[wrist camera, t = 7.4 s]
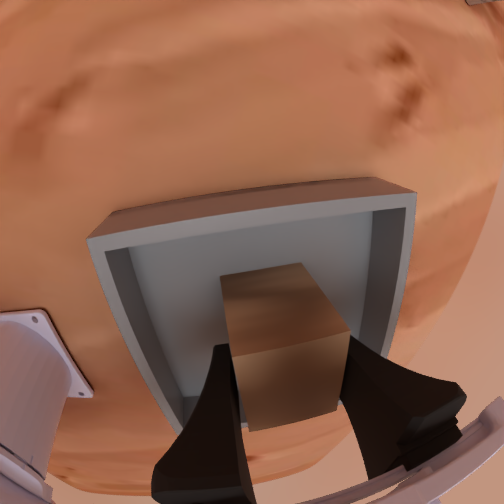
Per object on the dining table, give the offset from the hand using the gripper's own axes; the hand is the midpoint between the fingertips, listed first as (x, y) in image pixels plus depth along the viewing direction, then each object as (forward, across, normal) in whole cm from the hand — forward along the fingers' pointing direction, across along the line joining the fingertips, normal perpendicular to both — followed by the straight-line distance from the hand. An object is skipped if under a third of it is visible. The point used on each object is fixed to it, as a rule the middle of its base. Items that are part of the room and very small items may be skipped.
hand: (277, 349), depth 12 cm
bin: (+3, 0, 0) cm, 3 cm away
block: (+3, 0, 0) cm, 3 cm away
